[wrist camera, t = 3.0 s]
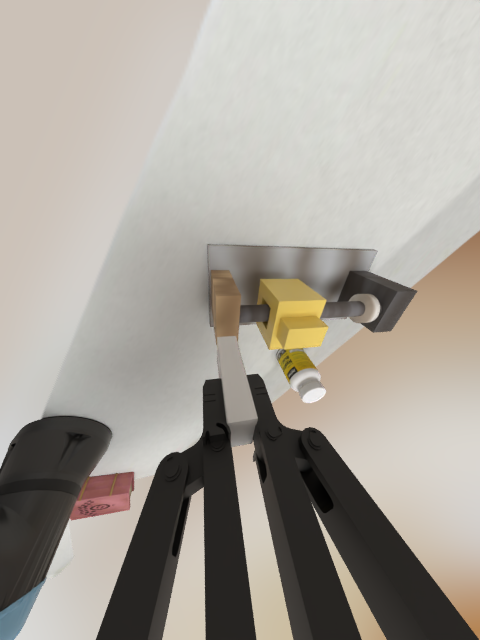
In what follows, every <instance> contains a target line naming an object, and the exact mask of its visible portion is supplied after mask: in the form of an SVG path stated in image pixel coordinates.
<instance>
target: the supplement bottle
mask: <svg viewBox="0 0 480 640" xmlns="http://www.w3.org/2000/svg"><path fill="white" fill-rule="evenodd" d="M277 360H278V362H279V364H280V366H281V368H282V370H283V372H284V374H285V376H286V378H287V380H288V382H289V384H290V386H291V388H292V389H293V390H294V391H297V392H299V395H300V397H301V399H302V401H303V402H305V403H313V402H316V401H318V400H320V399H321V398H322V397H323V396H324V395H325V393H326V390H325V388H324V387H323V385H322V384H321V382H320V379H321V376H320V373H319V372H318V370H317V369H316V367H315V366H314V364H313V363H312V361H311V360H310V359H309V357H308V356H307V354H306V353H305V352H304V350H303V349H302V348H296V349H286V350H284V349H280V350H279V351H278V353H277Z"/></svg>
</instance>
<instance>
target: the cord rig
mask: <svg viewBox="0 0 480 640" xmlns="http://www.w3.org/2000/svg"><path fill="white" fill-rule="evenodd" d="M377 252H378V251H376V250H358V249H328V248H298V247H269V246H239V245H209V244H208V272H209V302H210V327H214V330H215V337H216V345H217V337H226V336H236V338H237V342H238V331H239V325H249V324H256V322H267V321H268V320H269V314H270V309H271V308H270V307H269V305H268V304H260V305H257V301H258V293H259V286H260V279H299V280H300V281H302V282H303V283H304V284H306V285H307V286H309V287H310V288H311V289H313V290H314V291H315V292H317V293H318V294H319V295H321V296H322V297H323V298H325V299H326V300H327V301H326V303H325V306H324V309H323V311H322V314H321V317H320V319H321V320H333V319H346V318H347V317H349V318H350V319H351V320H352V321H353V322H356V323H361V324H362V325H364V326H365V327H366V328H368V329H369V330H370V331H372V332H386V331H391V330H392V329H393V327H394V326H395V324H396V323H397V321H398V320H399V318H400V317H401V315H402V314H403V312H404V311H405V309H406V307H407V306H408V305H409V303H410V302H411V300H412V299H413V297H414V295H415V294H416V293H417V291H416V290H413V289H411V288H408V287H406V286H403V285H401V284H398V283H396V282H393V281H390V280H388V279H385V278H383V277H380V276H378V275H375V274H373V273H370V272H368V271H369V269H370V267H371V265H372V263H373V260H374V258H375V256H376V254H377Z"/></svg>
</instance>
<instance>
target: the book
mask: <svg viewBox="0 0 480 640" xmlns="http://www.w3.org/2000/svg"><path fill="white" fill-rule="evenodd" d="M132 491H134V472H128V473H120V474H118V473H116V474H112V475H103V476H95V477H90V476H89V477H88V478H87V480H86V481H85V482H84V484H83V486H82V489H81V491H80V493H79V496H78V498H77V501H76V503H75V506H74V508H73V511H72V513H71V516H70V519H71V520H76V519H81V518H87V517H93V516H98V515H104V514H109V513H114V512H120V511H125V510H129V509H130V496H131V492H132Z"/></svg>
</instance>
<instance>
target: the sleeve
mask: <svg viewBox="0 0 480 640" xmlns="http://www.w3.org/2000/svg"><path fill="white" fill-rule="evenodd" d="M326 301H327V300H326V299H325V298H323V297H322V296H321V295H319V294H318V293H317V292H315V291H314V290H313V289H311V288H310V287H309V286H307V285H306V284H304V283H303V282H302V281H300V280H299V279H260V286H259V293H258V301H257V305H260V304H268V305H269V307H270V308H271V309H270V314H269V320H268V321H267V322H256V324H257V326H258V328H259V330H260V332H261V334H262V336H263V338H264V340H265V342H266V344H267V346H268V349H269V350H274V349H284V350H286V349H296V348H307V347H318V346H321V344H322V341H323V339H324V336H325V334H326V332H327V329H328V326H327V325H326V324H325V323H324V322H323V321H322V320H321V319H320V317H321V314H322V311H323V309H324V306H325V303H326Z"/></svg>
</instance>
